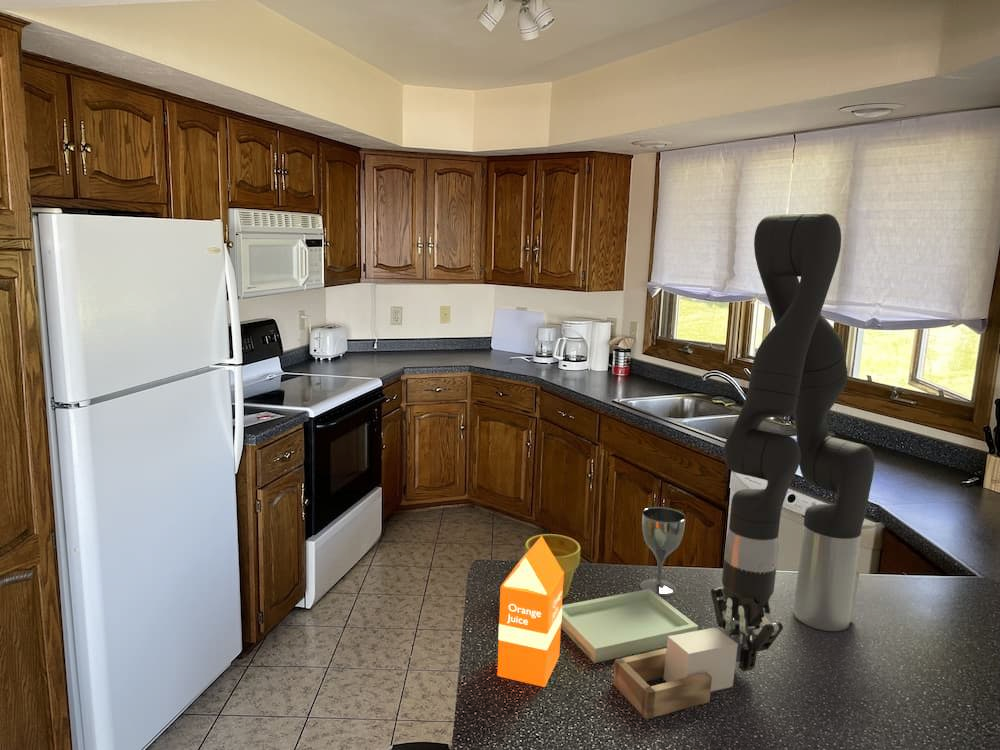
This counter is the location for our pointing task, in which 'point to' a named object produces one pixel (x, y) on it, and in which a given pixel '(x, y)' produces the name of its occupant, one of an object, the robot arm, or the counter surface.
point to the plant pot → (561, 555)
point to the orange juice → (531, 617)
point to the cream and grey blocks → (703, 656)
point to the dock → (662, 696)
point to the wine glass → (662, 542)
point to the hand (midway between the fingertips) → (739, 663)
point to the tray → (623, 624)
